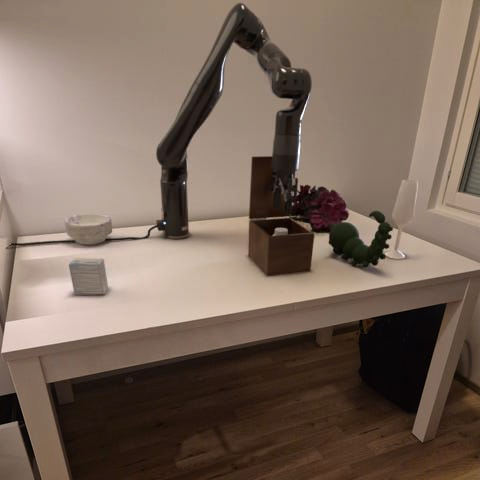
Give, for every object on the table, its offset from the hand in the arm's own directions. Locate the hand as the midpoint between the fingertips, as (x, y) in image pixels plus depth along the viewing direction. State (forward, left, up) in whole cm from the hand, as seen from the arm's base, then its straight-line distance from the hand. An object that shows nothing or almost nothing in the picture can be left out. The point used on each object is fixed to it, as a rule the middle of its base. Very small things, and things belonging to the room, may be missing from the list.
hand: (281, 210), depth 123 cm
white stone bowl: (-56, +38, -17) cm, 69 cm away
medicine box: (-56, -6, -17) cm, 59 cm away
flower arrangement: (+34, +40, -17) cm, 55 cm away
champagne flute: (+41, -2, -17) cm, 45 cm away
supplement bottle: (0, 0, -16) cm, 16 cm away
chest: (0, +1, -17) cm, 17 cm away
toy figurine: (+24, -3, -17) cm, 30 cm away
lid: (0, +9, +5) cm, 10 cm away
